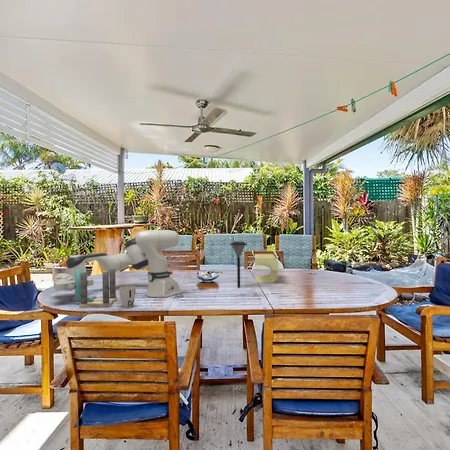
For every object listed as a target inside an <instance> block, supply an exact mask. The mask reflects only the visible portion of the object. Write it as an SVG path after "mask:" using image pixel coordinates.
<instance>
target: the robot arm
mask: <svg viewBox="0 0 450 450" xmlns="http://www.w3.org/2000/svg"><path fill="white" fill-rule="evenodd" d="M179 240H180V238H179V234H178V232H177V231H175V230H170V229H152V230H151V229H149V230H146V229H145V230H142V231H139V232H138V233H137V234H136V236H135V237H132V238H130V239H128V240H126V242H125V243H124V247H125V249H126V252H121V253H117V254H112V255H109V254H107V252H106V253H105V252H99V253H89V254H80V255H79V254H74V255H71V256H68V258H67V259H66V262H65V264H66V267H67V271H68V273H63V272H59V273H57V274H55V276H54V278H53V291H55V292H59V291H66V292H67V291H68V292H71V291H75V288H76V285H75V271H74V270H81V273H82V272H87V267H86V263H87V262H91V261H96V262H98V264H99V265H100V267H101V268H102V270H103V271H104V272H109V269H115V273H116V272H118V271H122V270H124V269H126V268H127V267H129V266H130V268H131V269H134V270H137V271H139V270H140V271H141V270H144V269H146V268H147V267H148V272H147V280H148V282H147V283H148V284H147V291H146V296H147V297H152V298H169V297H173V296H176V295H179V294H182V293H184V290H182V289H180V285H179V283H178V281H177V280H176V279H174V278H172V277H171V276H170V275H173V274H174V272H173V271H172V270H168V259H167V257H166V256H165V255H163V254H161V253H160V252H159V251H163V250H167V249H170V248H174V247H176V246H177V245H178V244H179V242H180V241H179ZM87 273H88V272H87ZM88 276H89V275H88V274H87V287H91V286H94V281H95V280H94V279H93V278H89V277H88Z"/></svg>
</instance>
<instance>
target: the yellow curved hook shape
mask: <svg viewBox="0 0 450 450" xmlns="http://www.w3.org/2000/svg"><path fill="white" fill-rule="evenodd" d="M276 258H277V257H276V256H275V254H273V253H255V254H254V266H263V267H267V268H269V269H270V273H269V274H268V275H263V276H255V277H254V280H255V281H254V283H275V282H277V280H278V276H279V275H278V274H279V273H278V271H279V268H280V267H279V261H278V260H277V259H276Z"/></svg>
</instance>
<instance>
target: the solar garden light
mask: <svg viewBox="0 0 450 450" xmlns="http://www.w3.org/2000/svg"><path fill="white" fill-rule="evenodd" d="M229 246H232V248H233V251H234V253H235V256H236V258H237V259H236V263H237V264H236V267H237V268H236V269H237V275H236V276H237V278H236V280H237V281H236V282H237V284H236V285H237V289H240V288H241V255H242V253H243V251H244V248H245V246H248V244H247V242H244V241H233V242H231V243H230V244H229Z"/></svg>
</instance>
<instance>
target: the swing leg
mask: <svg viewBox="0 0 450 450" xmlns="http://www.w3.org/2000/svg"><path fill="white" fill-rule="evenodd" d="M74 271H75V285H76V288H75V289H74V301H81V280H80V273H81V270H74ZM94 297H95V296H87V300H88V301H93V300H94Z"/></svg>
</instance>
